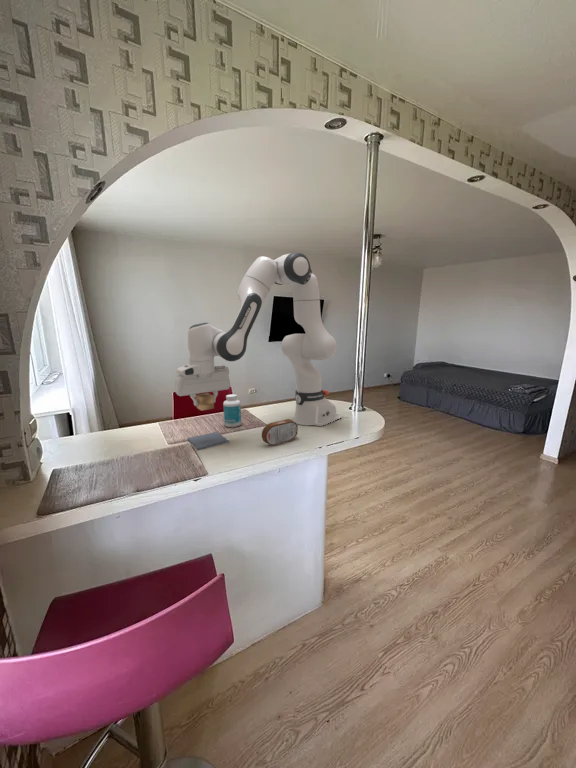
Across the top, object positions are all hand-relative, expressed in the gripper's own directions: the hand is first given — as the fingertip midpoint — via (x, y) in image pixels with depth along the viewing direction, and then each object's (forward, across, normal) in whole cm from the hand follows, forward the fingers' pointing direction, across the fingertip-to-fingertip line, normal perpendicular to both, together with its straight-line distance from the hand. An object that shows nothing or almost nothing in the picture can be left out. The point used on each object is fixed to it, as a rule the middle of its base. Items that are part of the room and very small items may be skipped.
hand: (204, 404), depth 125 cm
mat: (+15, 0, 0) cm, 15 cm away
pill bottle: (+15, -16, -12) cm, 25 cm away
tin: (+15, -22, +18) cm, 32 cm away
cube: (+2, 0, 0) cm, 2 cm away
